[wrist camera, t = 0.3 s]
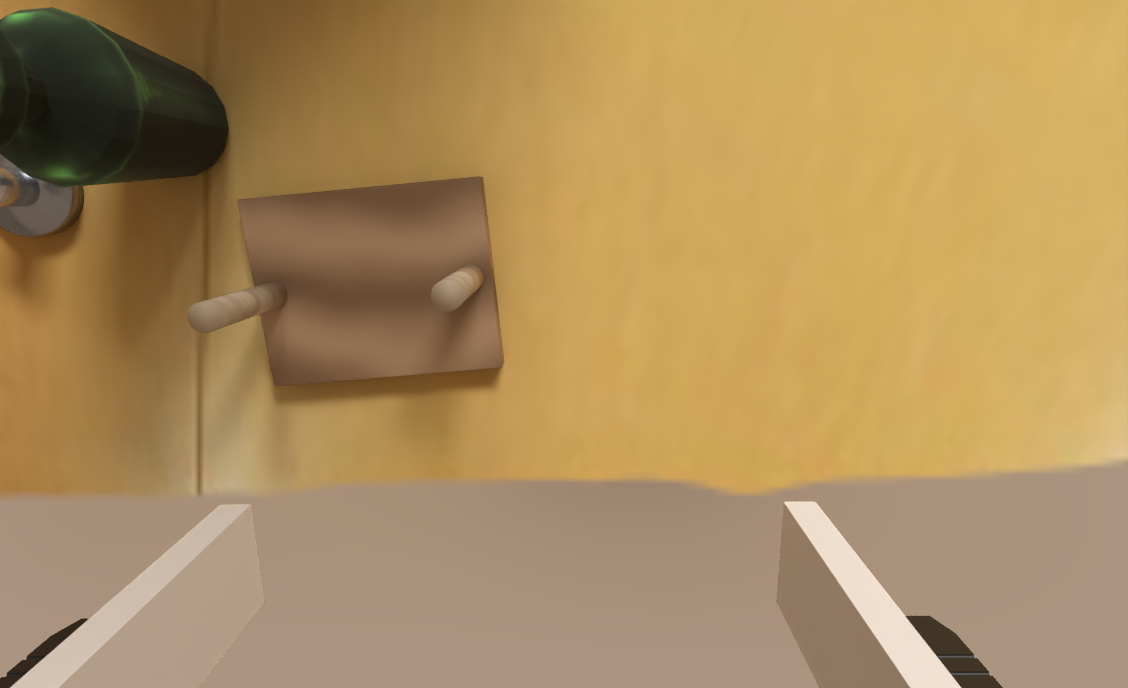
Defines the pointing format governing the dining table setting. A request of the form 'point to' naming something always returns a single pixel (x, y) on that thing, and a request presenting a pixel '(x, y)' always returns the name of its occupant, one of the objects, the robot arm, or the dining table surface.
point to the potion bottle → (99, 105)
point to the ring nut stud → (35, 203)
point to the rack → (368, 282)
